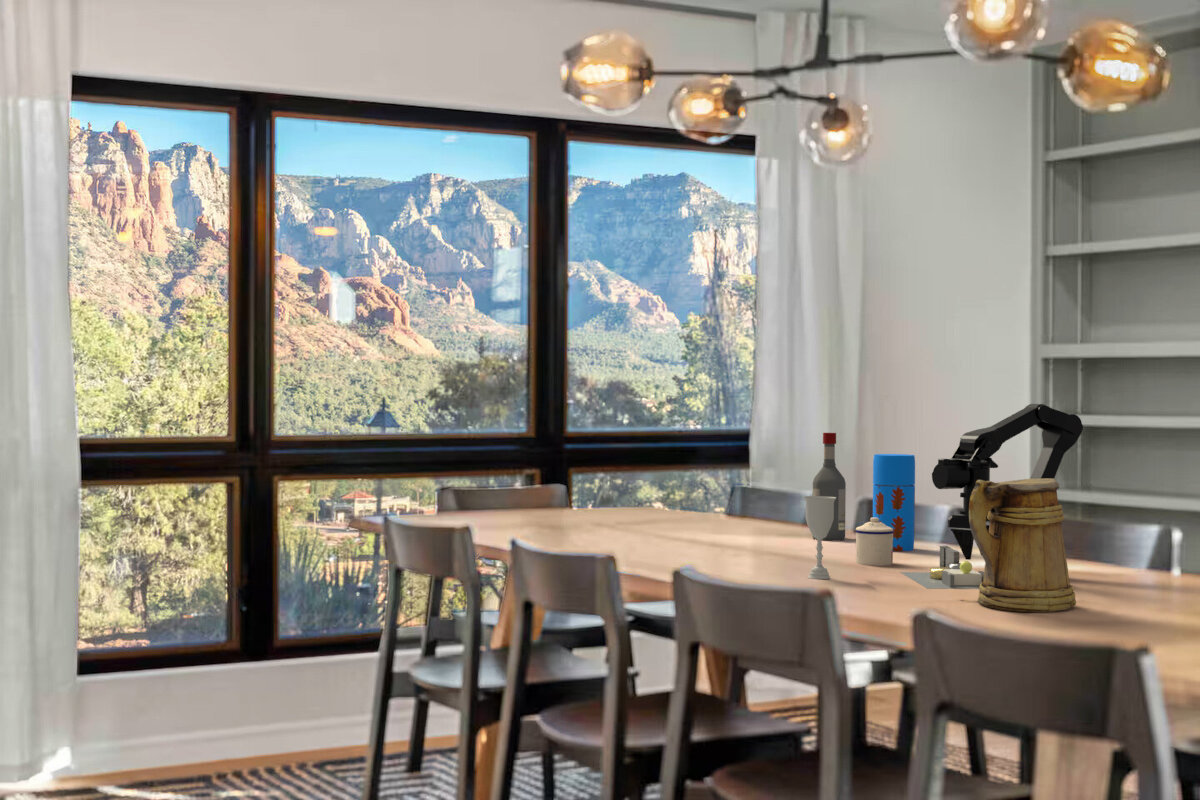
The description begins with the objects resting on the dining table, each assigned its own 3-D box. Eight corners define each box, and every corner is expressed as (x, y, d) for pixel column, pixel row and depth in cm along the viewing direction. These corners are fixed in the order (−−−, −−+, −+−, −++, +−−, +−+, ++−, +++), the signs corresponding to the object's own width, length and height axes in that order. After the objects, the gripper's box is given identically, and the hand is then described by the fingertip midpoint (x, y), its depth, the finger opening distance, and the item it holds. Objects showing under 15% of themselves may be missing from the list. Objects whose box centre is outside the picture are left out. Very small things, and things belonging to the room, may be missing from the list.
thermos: (918, 551, 368) (918, 456, 368) (876, 551, 368) (877, 455, 368) (909, 546, 379) (910, 454, 378) (869, 546, 379) (870, 453, 379)
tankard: (1096, 609, 272) (1097, 480, 272) (1006, 618, 261) (1007, 483, 260) (1026, 596, 288) (1027, 474, 288) (938, 604, 276) (940, 477, 276)
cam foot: (971, 580, 305) (971, 557, 305) (981, 585, 297) (981, 561, 297) (943, 580, 305) (944, 557, 305) (953, 585, 297) (953, 561, 297)
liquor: (812, 540, 394) (813, 433, 394) (812, 536, 403) (813, 432, 403) (845, 540, 393) (846, 433, 393) (844, 537, 402) (845, 432, 402)
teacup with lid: (901, 568, 333) (901, 519, 333) (866, 569, 330) (867, 519, 330) (875, 562, 344) (875, 514, 344) (842, 563, 341) (842, 515, 341)
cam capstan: (953, 569, 324) (953, 545, 324) (975, 580, 306) (975, 555, 306) (914, 569, 324) (915, 545, 324) (934, 579, 306) (934, 555, 306)
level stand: (996, 576, 319) (997, 560, 319) (1032, 592, 293) (1032, 575, 293) (900, 575, 319) (900, 559, 319) (927, 592, 293) (927, 574, 293)
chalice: (839, 576, 317) (839, 496, 317) (831, 580, 310) (831, 498, 310) (807, 574, 320) (808, 495, 320) (798, 578, 314) (799, 497, 313)
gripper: (996, 492, 304) (995, 564, 304) (1026, 487, 319) (1025, 556, 319) (947, 489, 311) (946, 560, 311) (979, 485, 326) (978, 553, 326)
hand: (975, 557), depth 316 cm, fingers open, 9 cm apart
